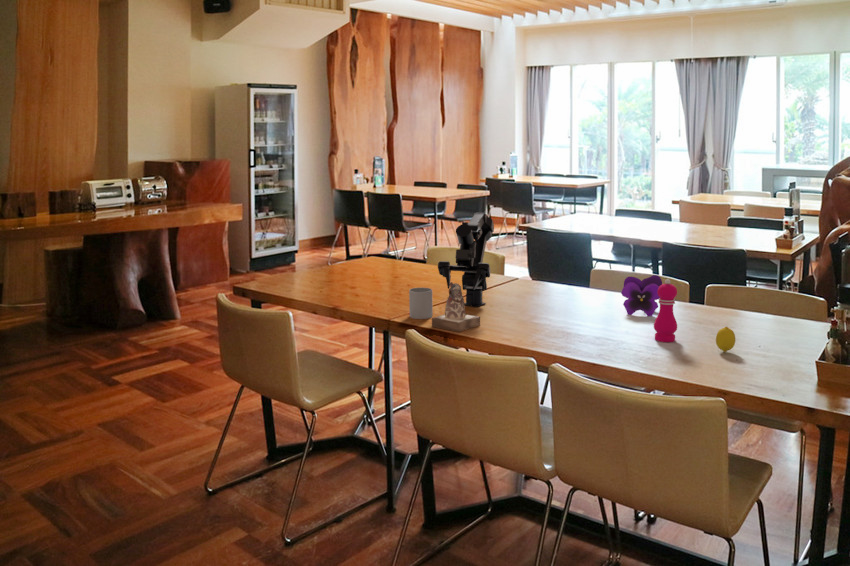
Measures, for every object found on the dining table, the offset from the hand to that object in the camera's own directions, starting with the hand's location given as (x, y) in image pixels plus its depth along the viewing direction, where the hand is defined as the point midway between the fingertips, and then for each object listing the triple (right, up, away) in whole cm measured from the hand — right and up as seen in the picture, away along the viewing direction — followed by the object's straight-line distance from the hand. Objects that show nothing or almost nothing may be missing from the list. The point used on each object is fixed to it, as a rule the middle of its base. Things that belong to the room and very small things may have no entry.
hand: (460, 288), depth 275 cm
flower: (+68, -9, +12) cm, 69 cm away
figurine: (-2, -10, -6) cm, 12 cm away
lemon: (+78, -19, -41) cm, 91 cm away
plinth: (-2, -13, -6) cm, 14 cm away
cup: (-14, -10, +9) cm, 20 cm away
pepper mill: (+65, -17, -27) cm, 72 cm away
